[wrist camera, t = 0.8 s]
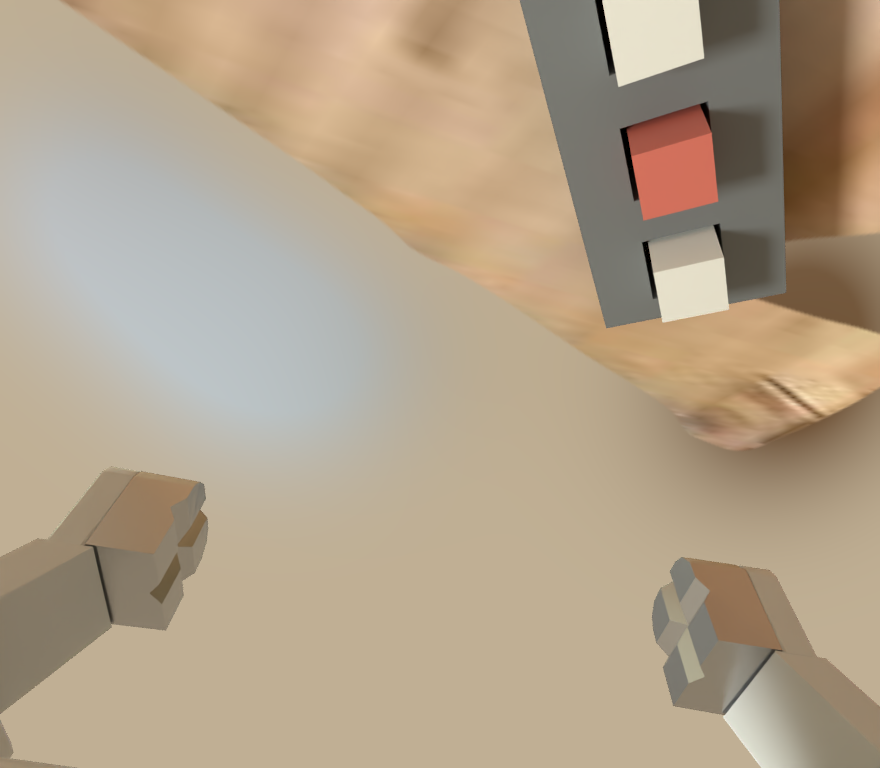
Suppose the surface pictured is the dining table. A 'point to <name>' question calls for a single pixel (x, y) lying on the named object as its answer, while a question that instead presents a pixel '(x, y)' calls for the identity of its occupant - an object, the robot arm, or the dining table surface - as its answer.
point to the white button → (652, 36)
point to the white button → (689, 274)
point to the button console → (611, 108)
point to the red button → (673, 162)
